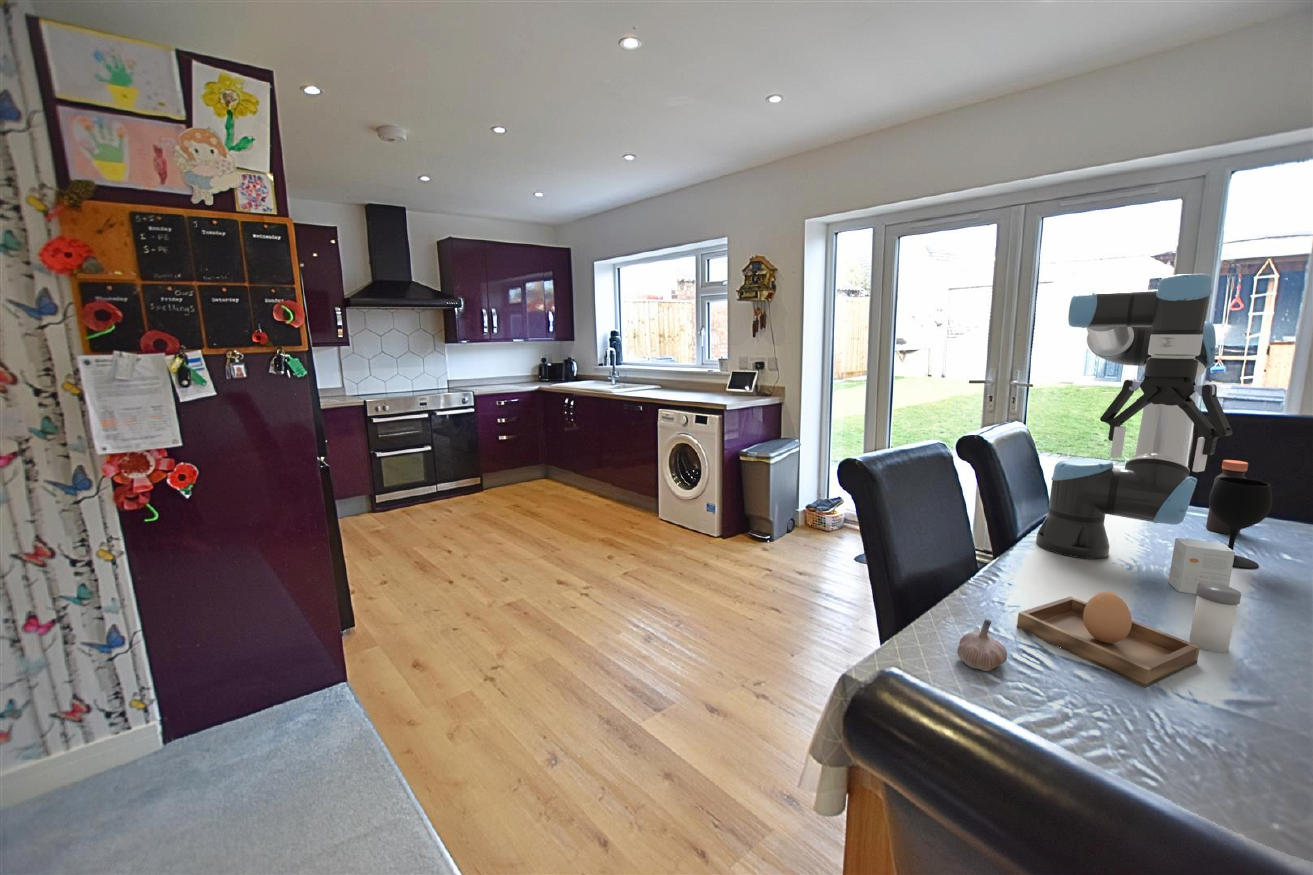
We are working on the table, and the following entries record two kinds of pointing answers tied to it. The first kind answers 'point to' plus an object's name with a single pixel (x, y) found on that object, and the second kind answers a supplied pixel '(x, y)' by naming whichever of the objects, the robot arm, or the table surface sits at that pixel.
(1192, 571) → the small box
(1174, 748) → the table surface
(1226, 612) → the shaker
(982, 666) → the garlic bulb
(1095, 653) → the tray
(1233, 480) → the wine glass
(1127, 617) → the egg
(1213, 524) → the bottle
